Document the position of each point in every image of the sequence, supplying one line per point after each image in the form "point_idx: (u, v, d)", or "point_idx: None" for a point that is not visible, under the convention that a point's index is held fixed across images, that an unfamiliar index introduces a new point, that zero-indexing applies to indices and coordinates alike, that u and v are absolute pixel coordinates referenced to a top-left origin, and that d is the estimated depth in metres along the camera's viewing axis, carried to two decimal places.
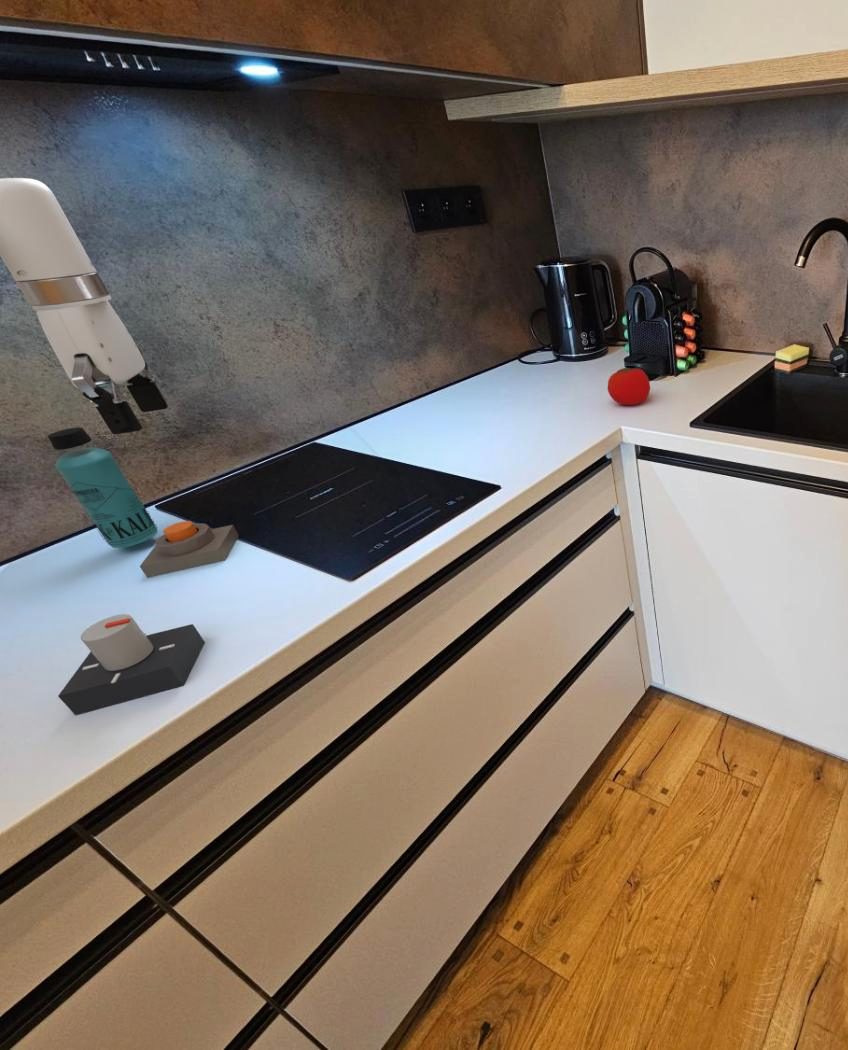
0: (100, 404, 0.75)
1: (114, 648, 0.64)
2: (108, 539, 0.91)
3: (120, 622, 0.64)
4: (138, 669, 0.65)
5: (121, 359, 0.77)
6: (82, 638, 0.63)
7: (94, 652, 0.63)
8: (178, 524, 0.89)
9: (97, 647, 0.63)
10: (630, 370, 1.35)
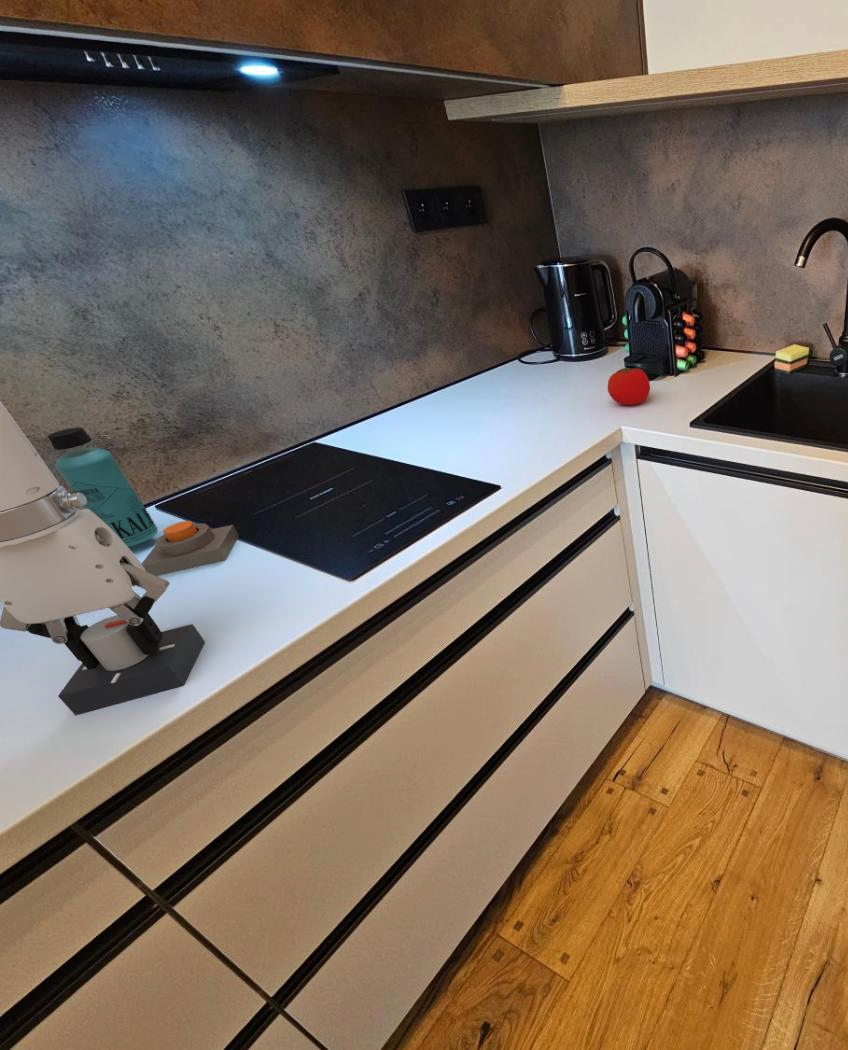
0: None
1: (114, 648, 0.64)
2: None
3: (120, 622, 0.64)
4: (138, 669, 0.65)
5: (39, 602, 0.59)
6: (82, 638, 0.63)
7: (94, 652, 0.63)
8: (178, 524, 0.89)
9: (97, 647, 0.63)
10: (630, 370, 1.35)
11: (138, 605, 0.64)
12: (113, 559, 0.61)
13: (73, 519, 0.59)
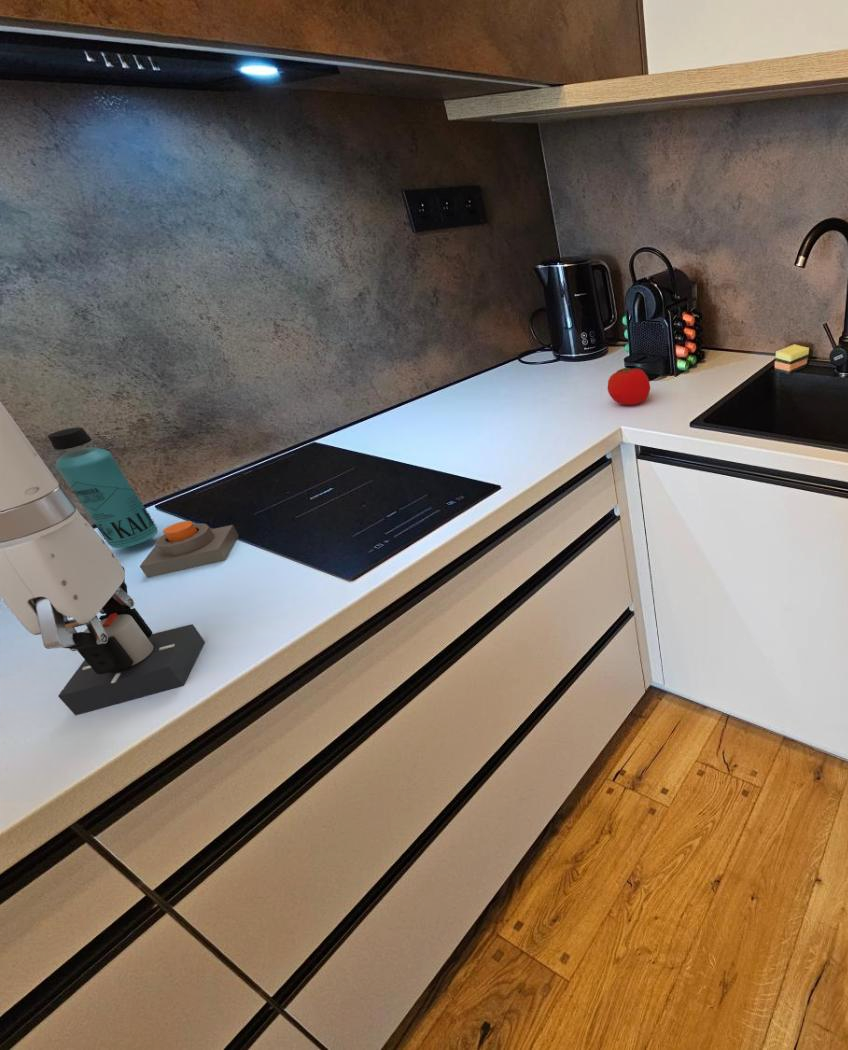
0: (81, 648, 0.61)
1: (140, 629, 0.66)
2: (108, 539, 0.91)
3: (114, 616, 0.65)
4: (138, 669, 0.65)
5: (91, 588, 0.60)
6: (113, 633, 0.63)
7: (130, 640, 0.65)
8: (178, 524, 0.89)
9: (133, 631, 0.65)
10: (630, 370, 1.35)
11: None
12: None
13: None
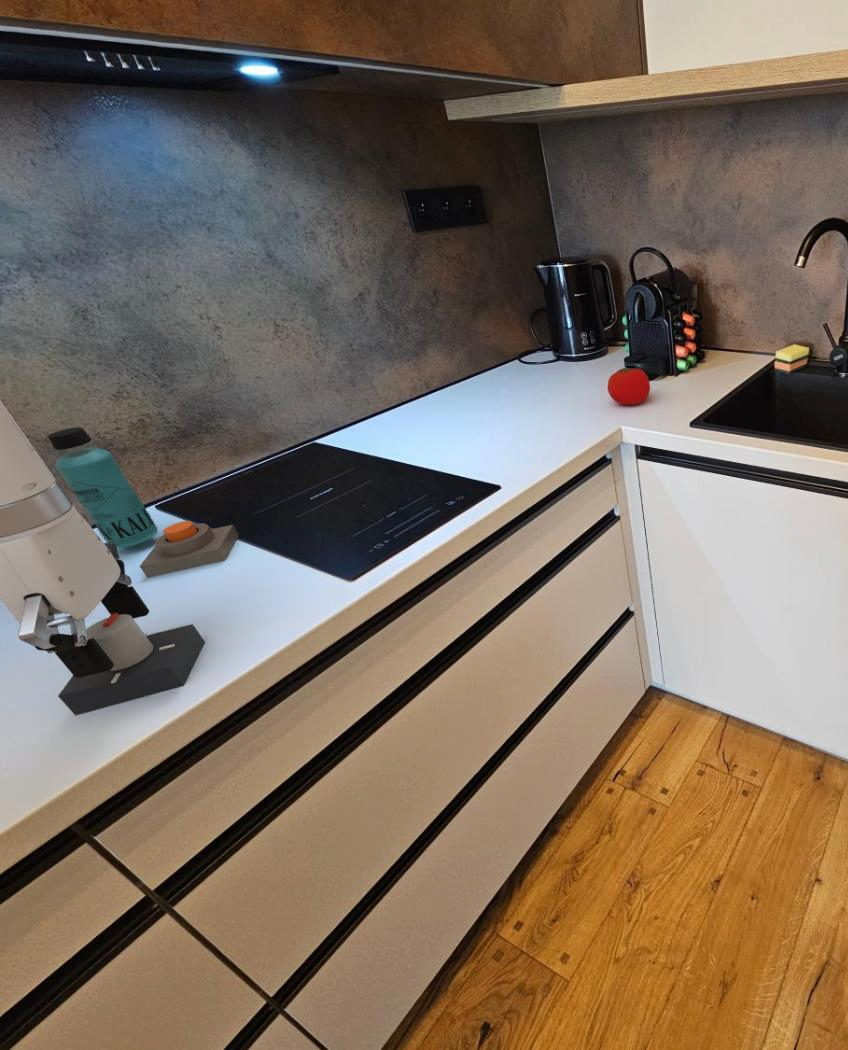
0: (58, 650, 0.58)
1: (140, 629, 0.66)
2: (108, 539, 0.91)
3: (114, 616, 0.65)
4: (138, 669, 0.65)
5: (87, 585, 0.60)
6: (112, 633, 0.63)
7: (129, 641, 0.65)
8: (178, 524, 0.89)
9: (132, 632, 0.65)
10: (630, 370, 1.35)
11: (118, 567, 0.68)
12: None
13: None
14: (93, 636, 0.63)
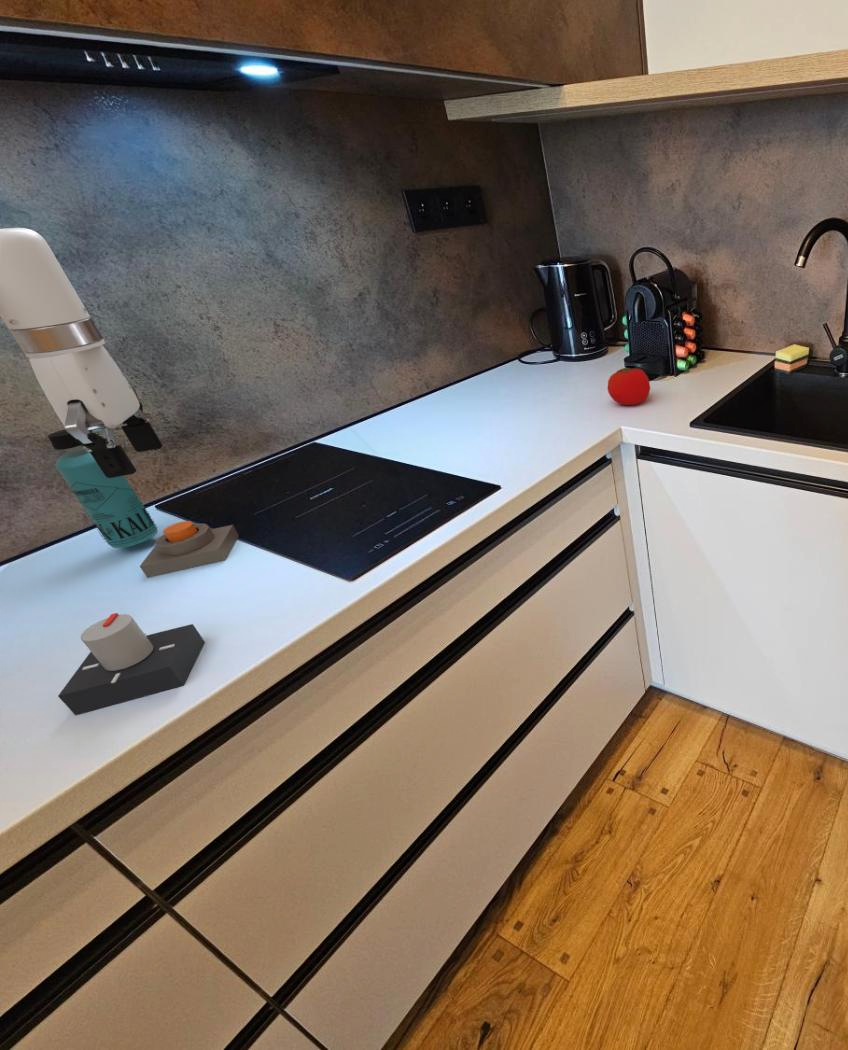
0: (94, 449, 0.75)
1: (140, 629, 0.66)
2: (108, 539, 0.91)
3: (114, 616, 0.65)
4: (138, 669, 0.65)
5: (115, 403, 0.77)
6: (112, 633, 0.63)
7: (129, 641, 0.65)
8: (178, 524, 0.89)
9: (132, 632, 0.65)
10: (630, 370, 1.35)
11: None
12: None
13: None
14: (93, 636, 0.63)
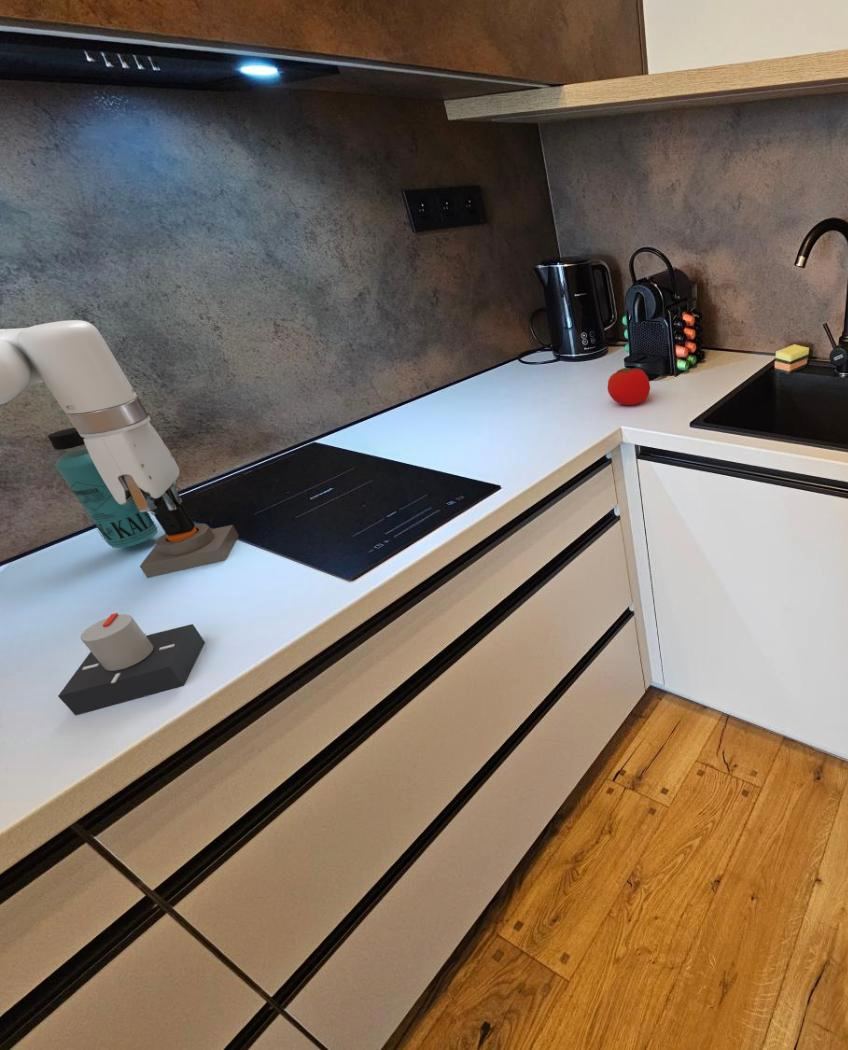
0: (158, 512, 0.85)
1: (140, 629, 0.66)
2: (108, 539, 0.91)
3: (114, 616, 0.65)
4: (138, 669, 0.65)
5: (159, 474, 0.83)
6: (112, 633, 0.63)
7: (129, 641, 0.65)
8: None
9: (132, 632, 0.65)
10: (630, 370, 1.35)
11: None
12: None
13: None
14: (93, 636, 0.63)
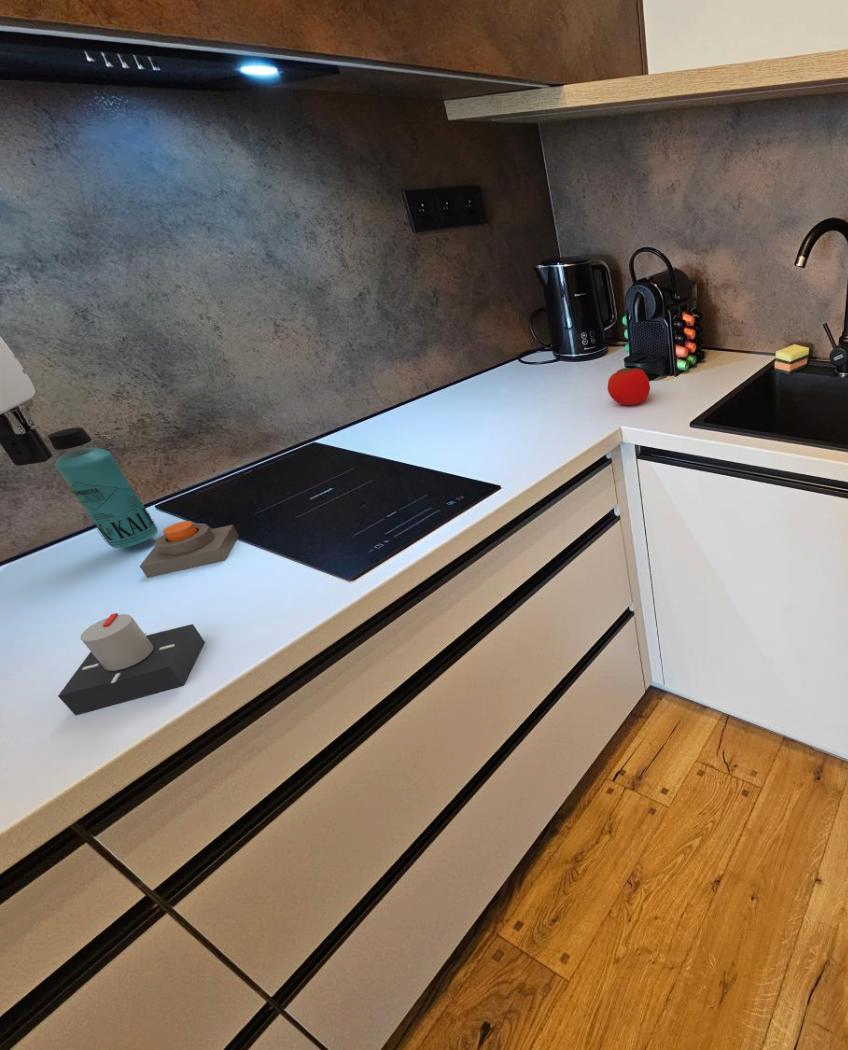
0: (0, 435, 0.72)
1: (140, 629, 0.66)
2: (108, 539, 0.91)
3: (114, 616, 0.65)
4: (138, 669, 0.65)
5: (0, 387, 0.70)
6: (112, 633, 0.63)
7: (129, 641, 0.65)
8: (178, 524, 0.89)
9: (132, 632, 0.65)
10: (630, 370, 1.35)
11: None
12: None
13: None
14: (93, 636, 0.63)
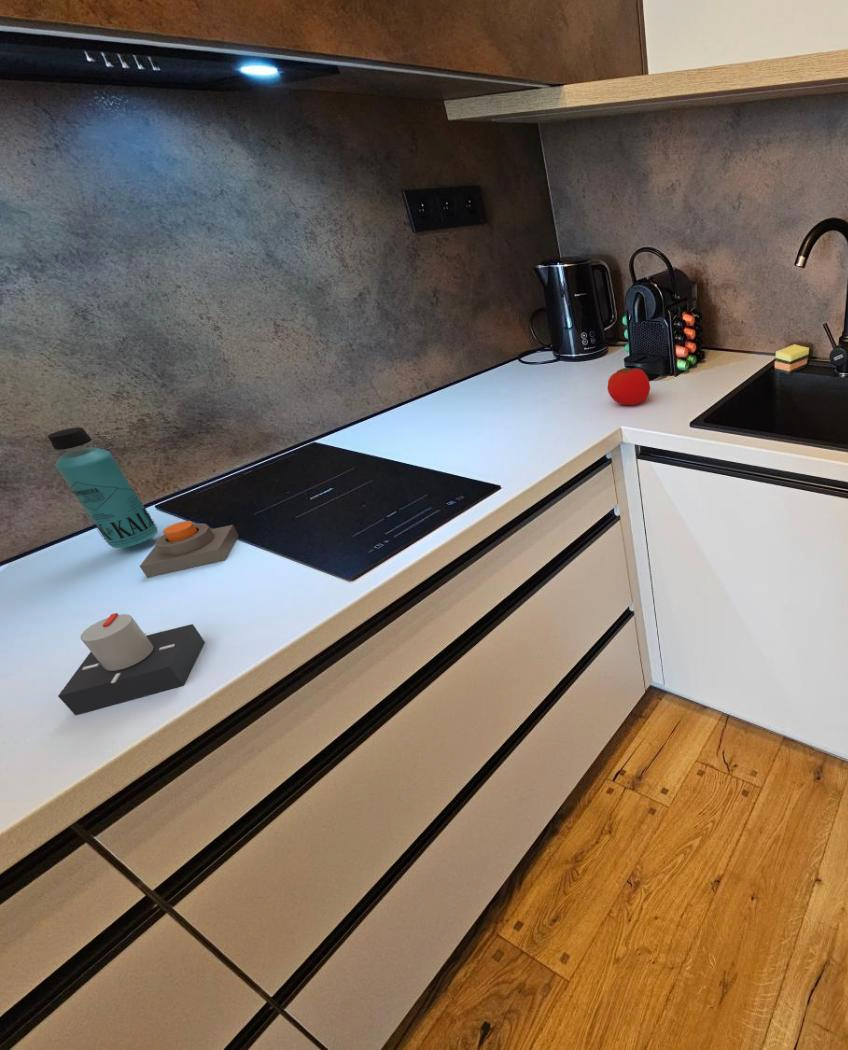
0: None
1: (140, 629, 0.66)
2: (108, 539, 0.91)
3: (114, 616, 0.65)
4: (138, 669, 0.65)
5: None
6: (112, 633, 0.63)
7: (129, 641, 0.65)
8: (178, 524, 0.89)
9: (132, 632, 0.65)
10: (630, 370, 1.35)
11: None
12: None
13: None
14: (93, 636, 0.63)
